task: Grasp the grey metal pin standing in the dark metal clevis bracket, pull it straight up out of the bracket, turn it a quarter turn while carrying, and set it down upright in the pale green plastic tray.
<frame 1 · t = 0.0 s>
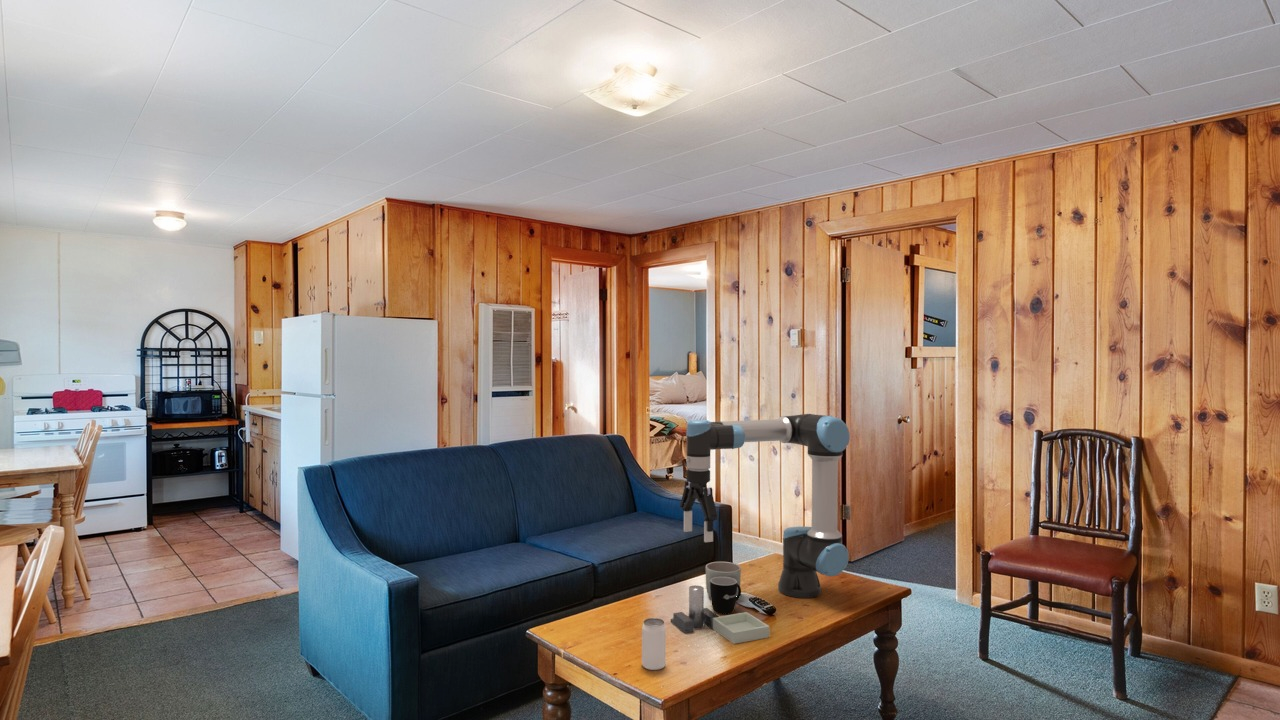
hand: (697, 536, 216), 28 cm above the table, fingers open, 13 cm apart
mug: (726, 610, 229), on the table
can: (653, 666, 188), on the table
tray: (740, 632, 210), on the table
pin: (696, 626, 216), resting in hitch clevis
planter: (722, 598, 241), on the table
hitch clevis: (696, 625, 216), on the table
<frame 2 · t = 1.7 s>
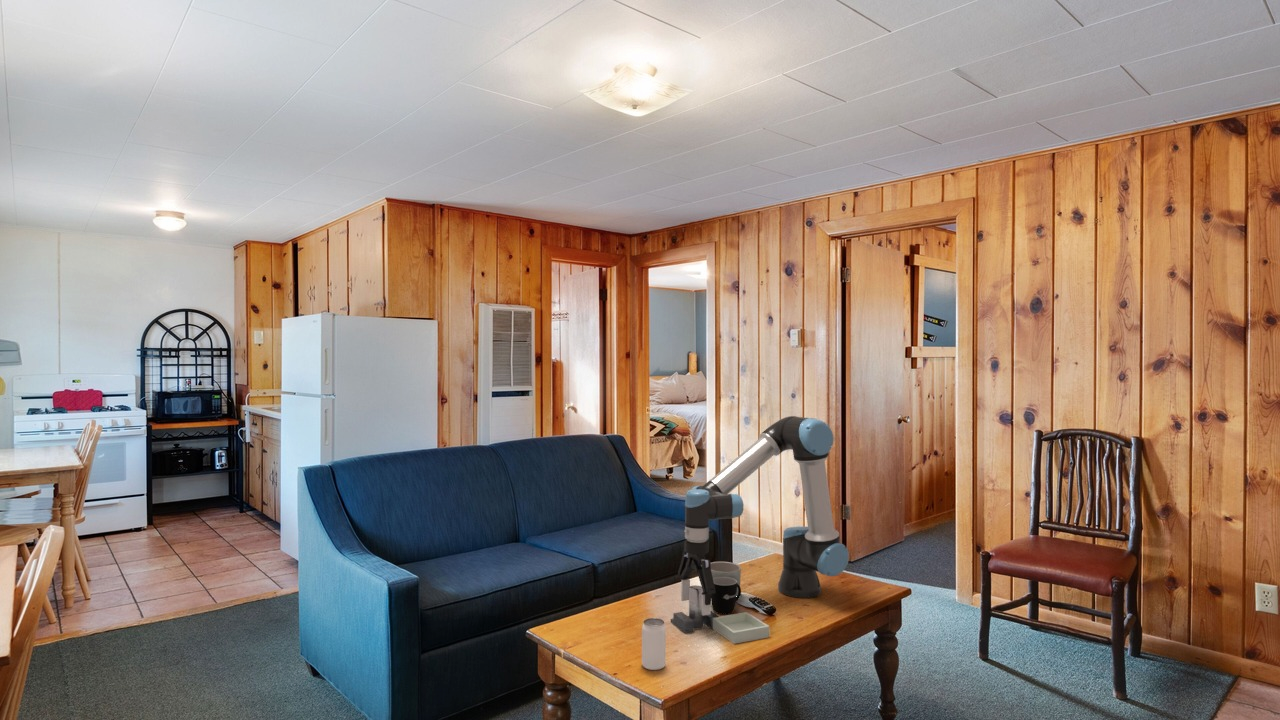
hand: (695, 607, 215), 6 cm above the table, fingers open, 13 cm apart
nothing on the table moved.
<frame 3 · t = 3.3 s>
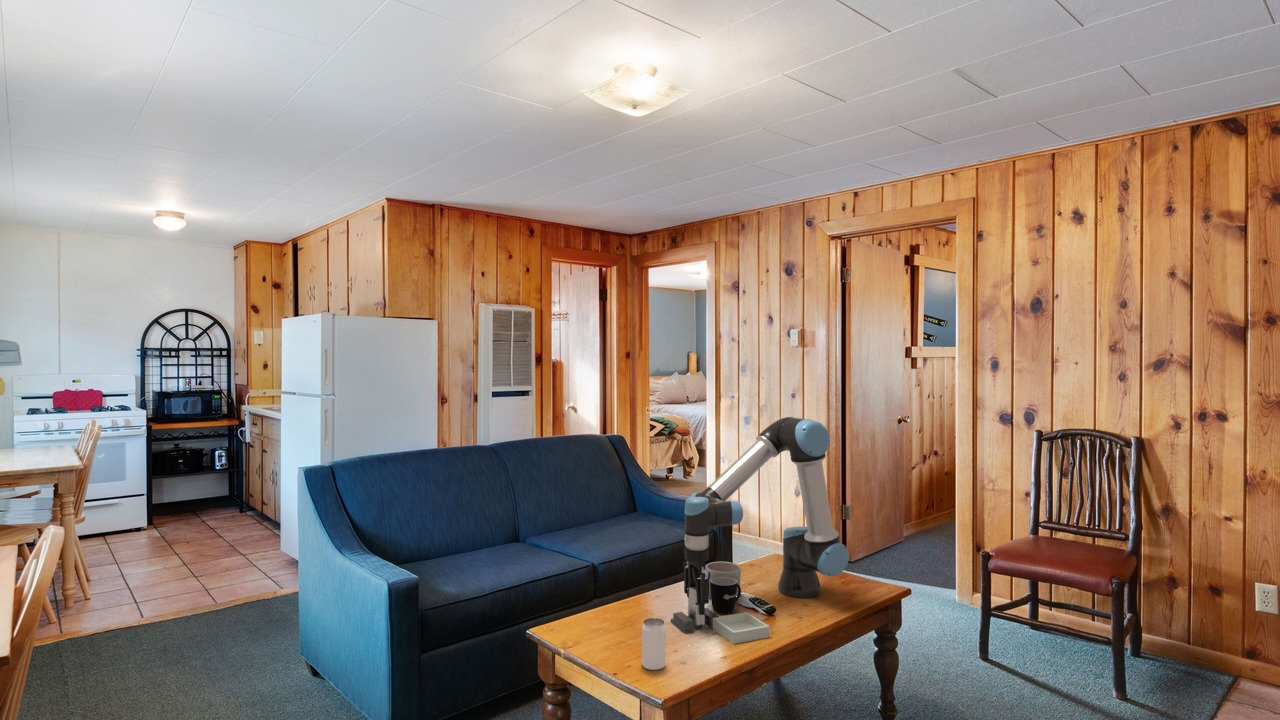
hand: (696, 621, 216), 2 cm above the table, fingers closed on pin, 5 cm apart
pin: (696, 625, 216), resting in hitch clevis, touching gripper
everything else where it was.
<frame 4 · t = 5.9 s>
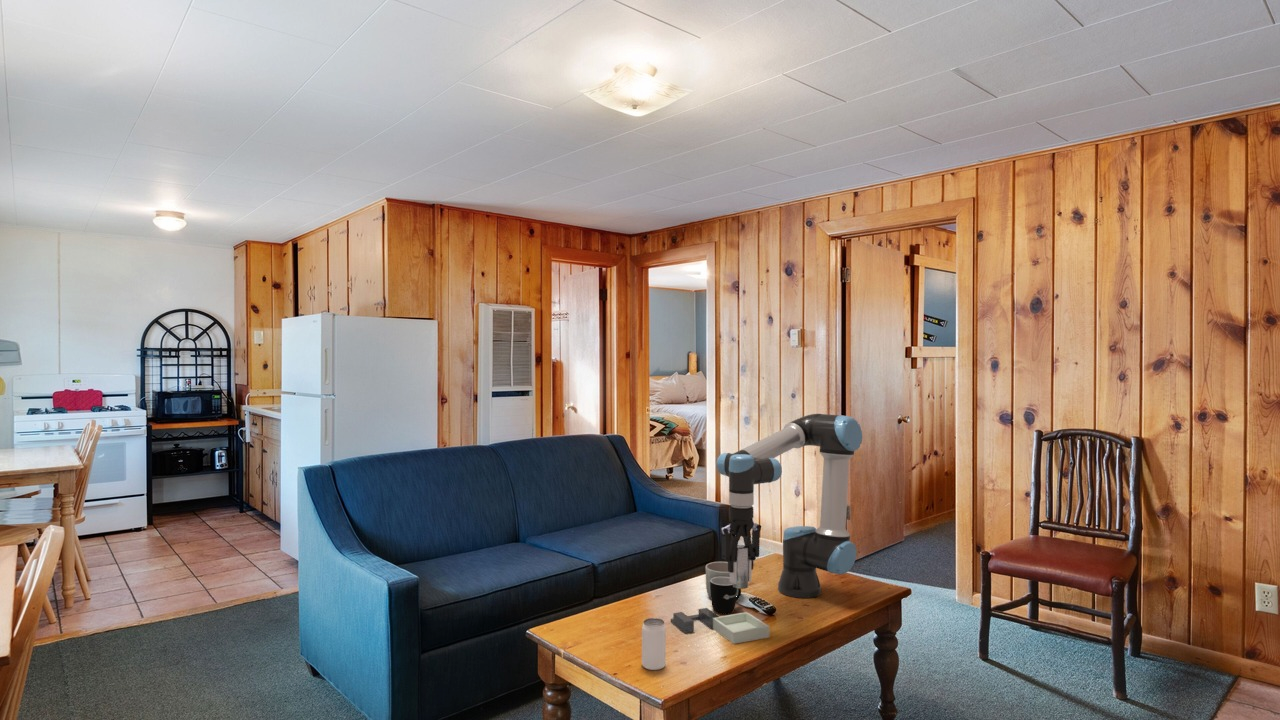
hand: (740, 581, 210), 16 cm above the table, fingers closed on pin, 5 cm apart
pin: (740, 586, 210), point 14 cm above the table, touching gripper
everything else where it was.
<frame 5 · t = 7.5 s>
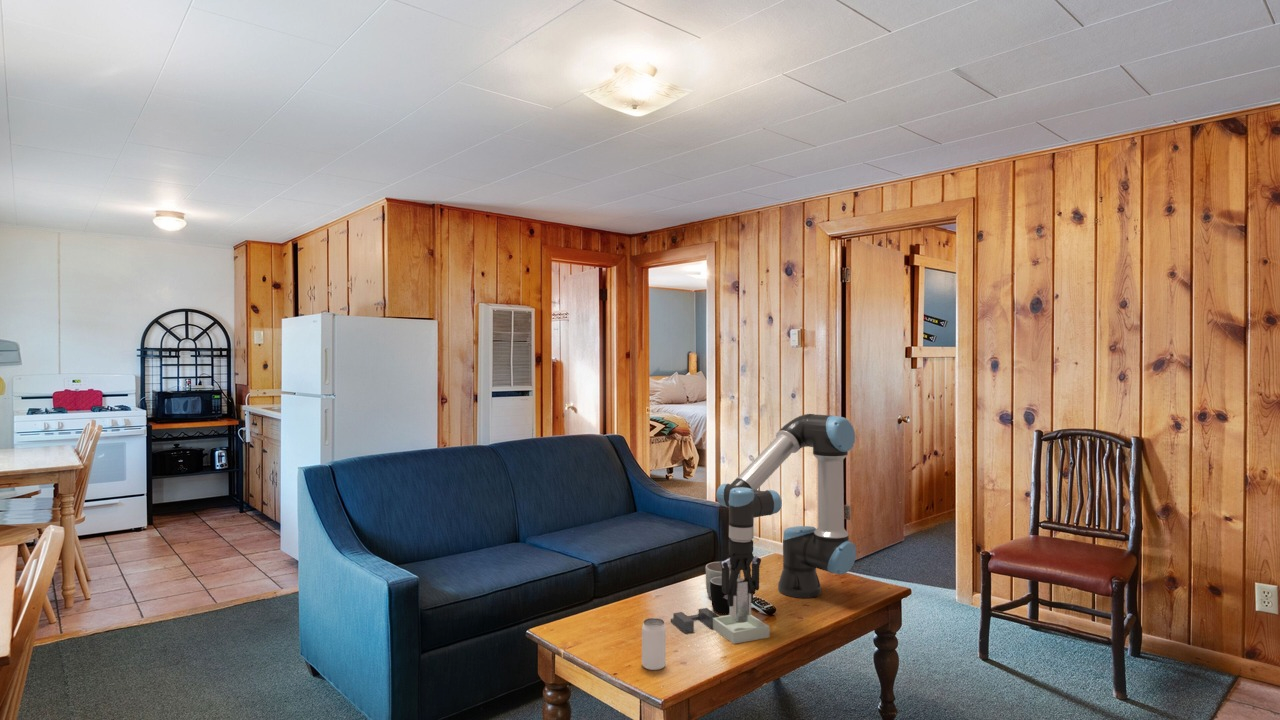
hand: (740, 614, 210), 6 cm above the table, fingers closed on pin, 5 cm apart
pin: (740, 619, 210), point 4 cm above the table, touching gripper
everything else where it was.
when the fingers open (3 cm above the table, at t = 8.7 s): pin drops 1 cm, resting on tray.
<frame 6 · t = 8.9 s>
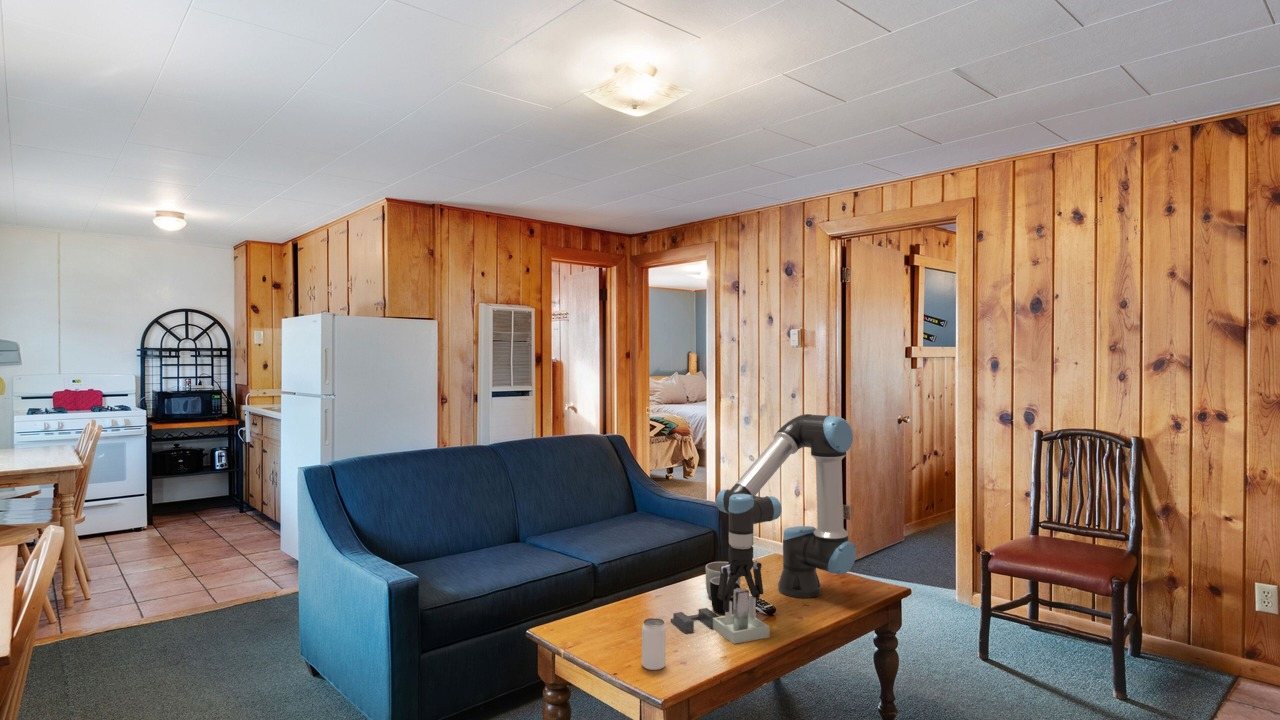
hand: (740, 619, 210), 4 cm above the table, fingers open, 8 cm apart
pin: (740, 629, 210), point 1 cm above the table, touching tray
everything else where it was.
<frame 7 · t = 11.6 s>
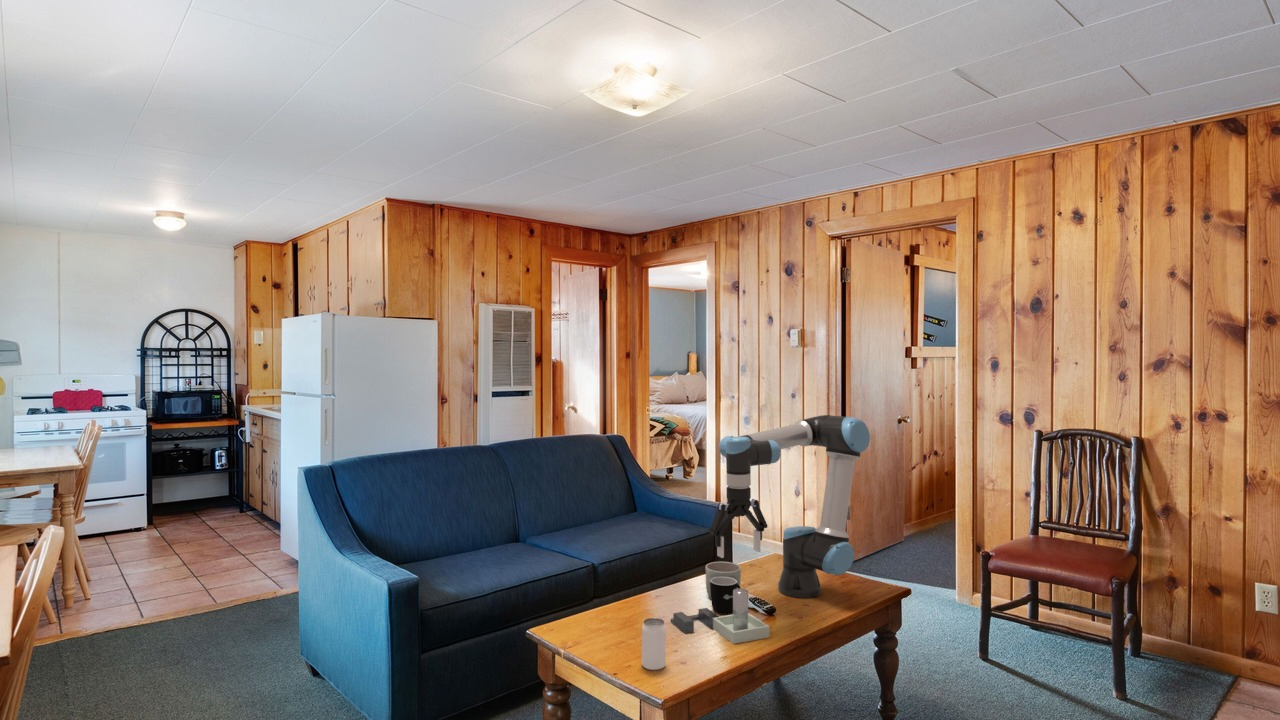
hand: (739, 553, 216), 23 cm above the table, fingers open, 13 cm apart
nothing on the table moved.
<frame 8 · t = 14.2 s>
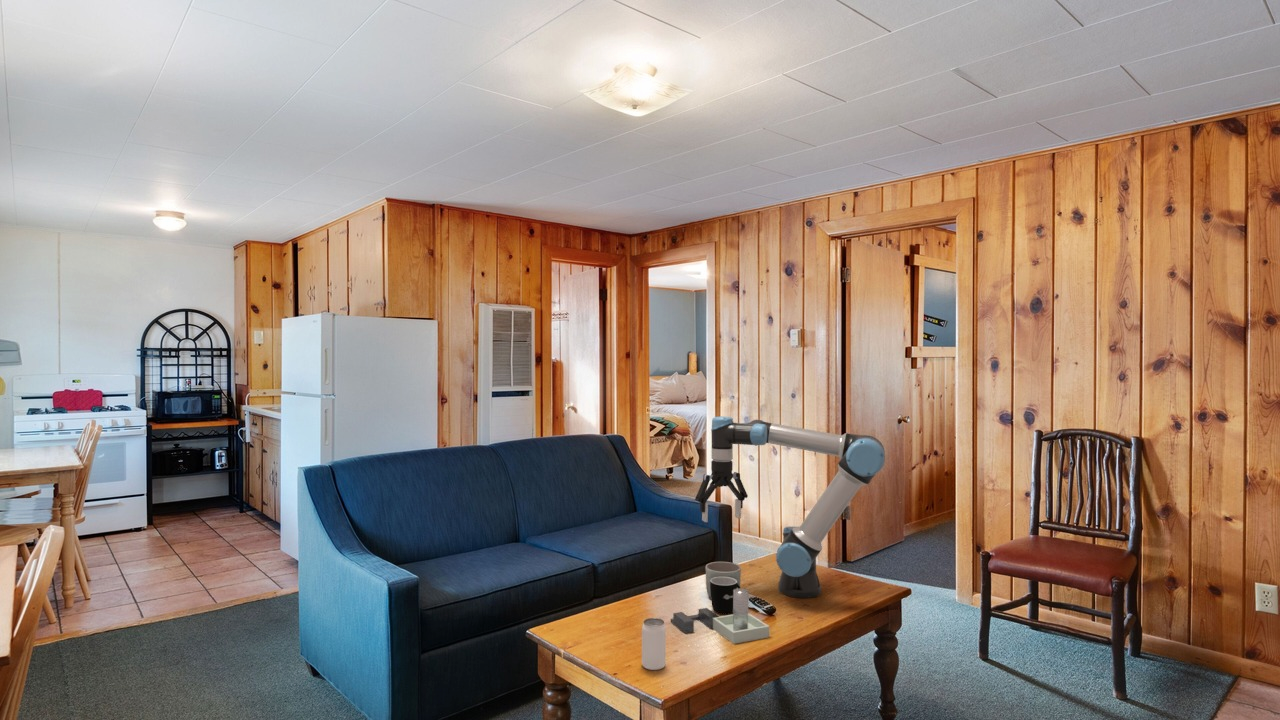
hand: (721, 519, 245), 27 cm above the table, fingers open, 13 cm apart
nothing on the table moved.
at the end: pin inside the target area on the tray (0.0 cm from its centre), point 0.8 cm above the tray's base; pin tilted 0°; the gripper is holding nothing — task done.
